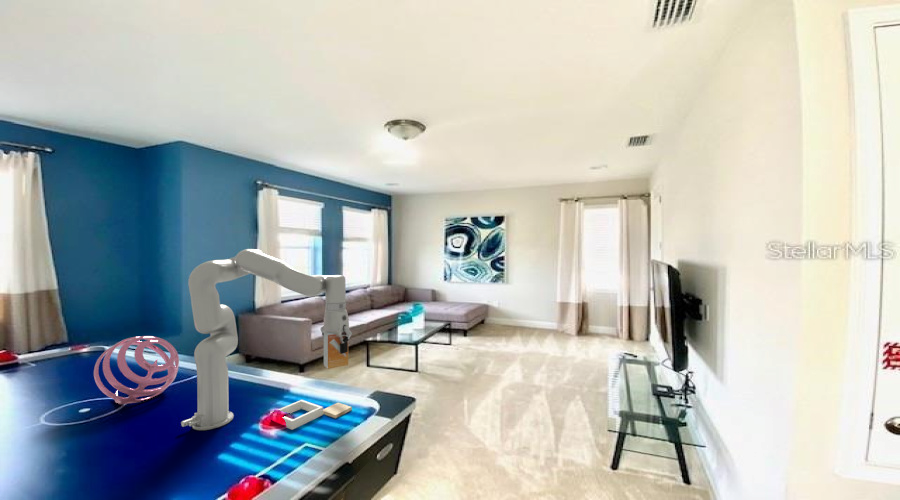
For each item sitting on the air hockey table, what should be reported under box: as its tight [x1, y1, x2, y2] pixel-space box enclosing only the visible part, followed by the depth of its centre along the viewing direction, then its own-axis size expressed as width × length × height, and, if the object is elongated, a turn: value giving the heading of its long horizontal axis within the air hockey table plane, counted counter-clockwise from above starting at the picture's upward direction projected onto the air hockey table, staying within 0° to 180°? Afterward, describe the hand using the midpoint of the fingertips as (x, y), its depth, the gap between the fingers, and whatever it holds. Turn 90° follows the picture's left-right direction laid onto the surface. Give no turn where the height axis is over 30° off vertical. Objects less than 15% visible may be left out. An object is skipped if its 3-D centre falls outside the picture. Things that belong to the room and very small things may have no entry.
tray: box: [270, 399, 324, 430], centre depth 131 cm, size 13×13×3 cm
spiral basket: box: [93, 335, 180, 405], centre depth 150 cm, size 28×28×27 cm
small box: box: [323, 332, 349, 369], centre depth 136 cm, size 8×6×13 cm
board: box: [323, 402, 353, 419], centre depth 136 cm, size 8×8×1 cm
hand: (335, 351), depth 136 cm, fingers closed on small box, 8 cm apart
